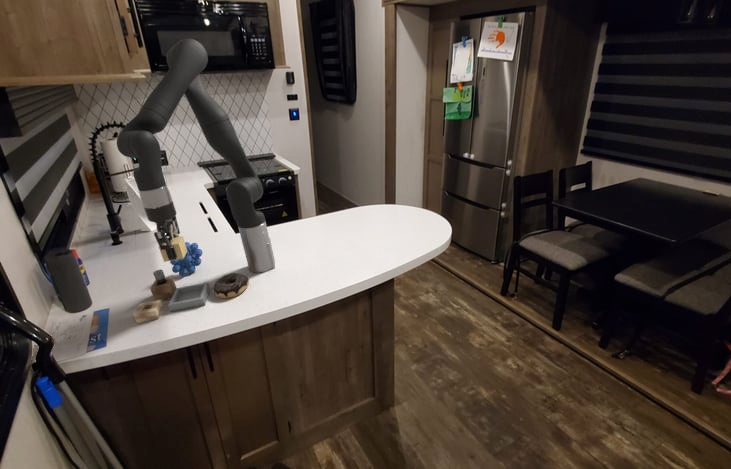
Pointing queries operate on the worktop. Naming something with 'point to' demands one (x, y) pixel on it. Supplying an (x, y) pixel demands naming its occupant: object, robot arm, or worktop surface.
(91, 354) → the worktop surface
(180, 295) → the tray
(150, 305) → the stand
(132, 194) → the skyscraper
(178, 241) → the block
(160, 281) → the cylinder
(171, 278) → the block
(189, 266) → the grapes
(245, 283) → the donut
